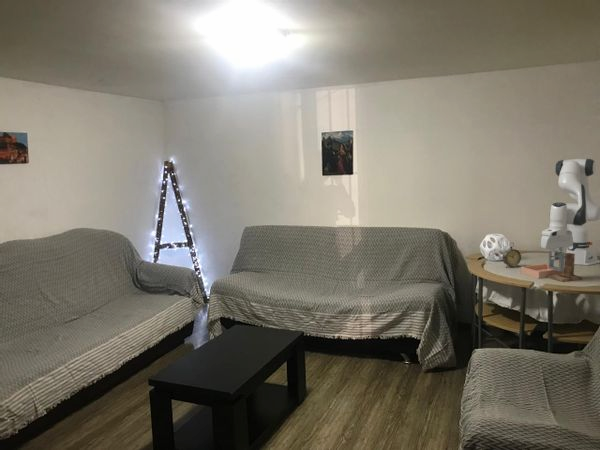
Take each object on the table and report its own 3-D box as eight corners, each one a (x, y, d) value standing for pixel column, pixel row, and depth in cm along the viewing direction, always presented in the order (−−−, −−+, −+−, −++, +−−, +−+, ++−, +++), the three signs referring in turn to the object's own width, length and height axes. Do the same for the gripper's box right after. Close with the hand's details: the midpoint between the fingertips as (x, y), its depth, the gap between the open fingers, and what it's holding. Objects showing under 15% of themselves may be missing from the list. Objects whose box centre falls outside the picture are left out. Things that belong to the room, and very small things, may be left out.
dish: (546, 269, 298) (546, 263, 298) (565, 274, 285) (565, 268, 285) (520, 273, 292) (521, 266, 292) (538, 278, 279) (539, 271, 278)
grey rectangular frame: (551, 267, 279) (552, 250, 277) (563, 271, 271) (564, 252, 269) (548, 268, 278) (549, 250, 276) (560, 271, 270) (561, 253, 269)
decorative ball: (502, 256, 341) (503, 231, 338) (515, 262, 321) (516, 236, 319) (474, 257, 340) (475, 232, 338) (486, 263, 321) (487, 237, 318)
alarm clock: (505, 268, 304) (506, 243, 302) (500, 266, 310) (501, 242, 307) (521, 267, 307) (522, 242, 304) (515, 265, 312) (516, 241, 309)
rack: (566, 275, 284) (567, 251, 282) (581, 279, 275) (582, 254, 273) (544, 278, 279) (545, 254, 277) (558, 282, 270) (559, 257, 268)
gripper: (567, 229, 277) (566, 252, 279) (539, 232, 271) (538, 255, 273) (576, 230, 271) (575, 254, 273) (548, 233, 265) (547, 258, 267)
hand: (556, 255), depth 273 cm, fingers closed on grey rectangular frame, 2 cm apart
